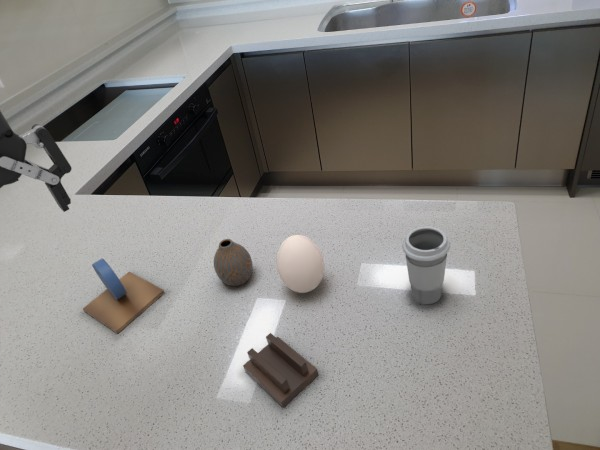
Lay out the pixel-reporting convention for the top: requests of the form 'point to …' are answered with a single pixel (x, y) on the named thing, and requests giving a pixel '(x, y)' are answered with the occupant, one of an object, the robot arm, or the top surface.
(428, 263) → the cup
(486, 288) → the top surface
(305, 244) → the egg
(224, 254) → the vase
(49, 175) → the robot arm
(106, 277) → the disc
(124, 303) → the plate
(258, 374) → the rack
